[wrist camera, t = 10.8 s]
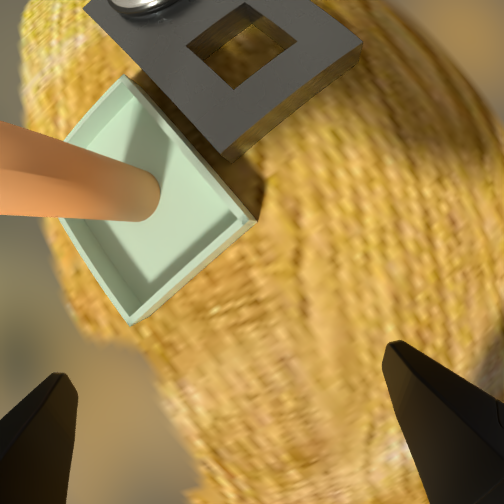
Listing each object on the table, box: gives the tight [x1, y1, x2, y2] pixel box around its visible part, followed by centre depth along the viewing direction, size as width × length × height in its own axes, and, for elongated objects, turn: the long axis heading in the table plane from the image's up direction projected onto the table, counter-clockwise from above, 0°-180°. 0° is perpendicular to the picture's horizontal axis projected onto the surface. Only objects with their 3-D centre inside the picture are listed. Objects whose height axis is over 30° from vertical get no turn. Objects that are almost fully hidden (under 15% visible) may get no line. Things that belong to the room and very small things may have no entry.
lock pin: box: [0, 121, 160, 222], centre depth 12 cm, size 3×3×13 cm
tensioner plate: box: [82, 0, 363, 164], centre depth 16 cm, size 18×10×5 cm, turn 40°
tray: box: [59, 74, 258, 326], centre depth 18 cm, size 12×9×2 cm
